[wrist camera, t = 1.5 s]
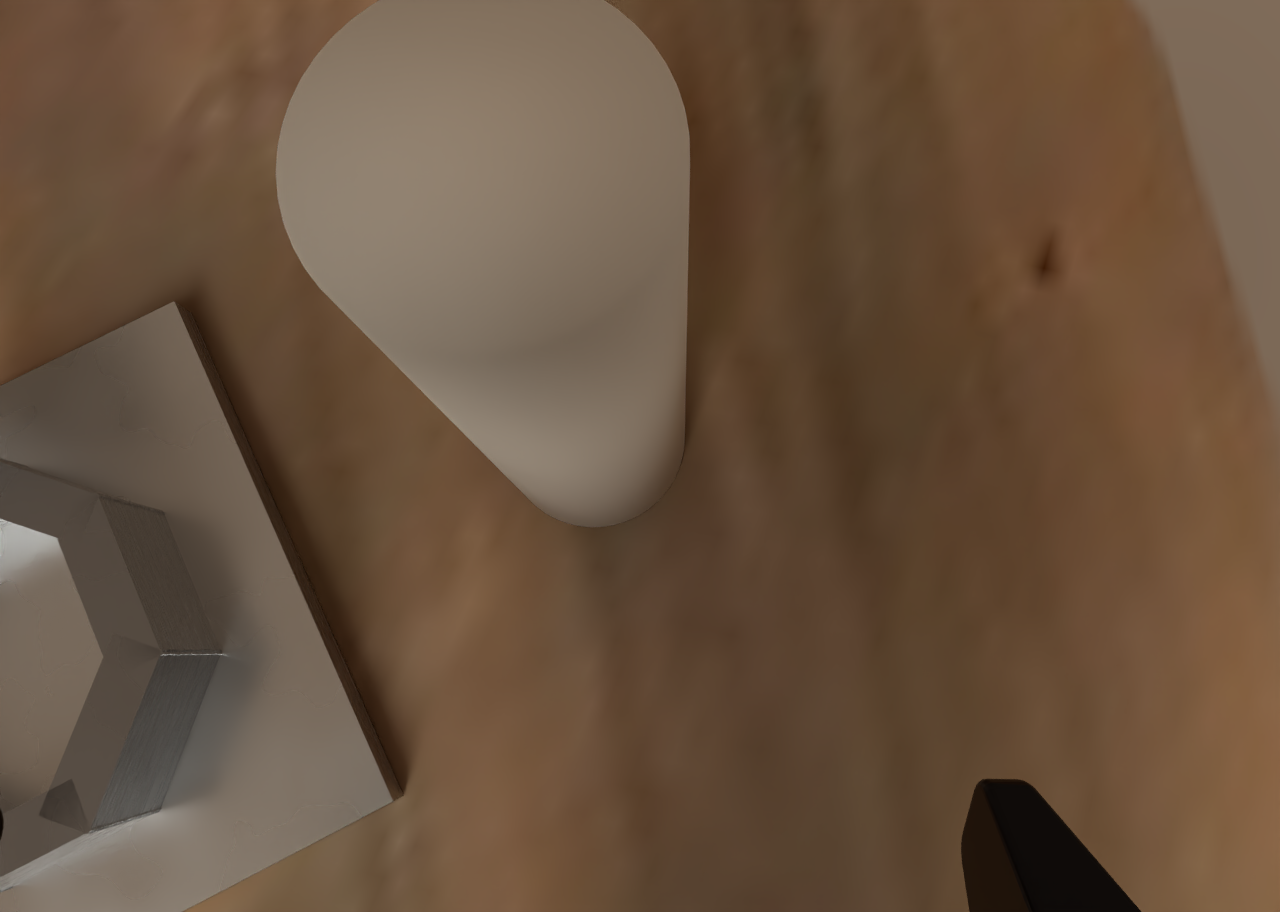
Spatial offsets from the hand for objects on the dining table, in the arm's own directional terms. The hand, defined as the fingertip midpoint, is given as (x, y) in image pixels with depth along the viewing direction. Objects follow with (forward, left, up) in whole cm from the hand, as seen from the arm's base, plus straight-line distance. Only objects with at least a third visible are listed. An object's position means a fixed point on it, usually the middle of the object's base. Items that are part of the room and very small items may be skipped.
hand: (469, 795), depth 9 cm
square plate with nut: (+6, +10, -12) cm, 17 cm away
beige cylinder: (+5, -3, -12) cm, 14 cm away
